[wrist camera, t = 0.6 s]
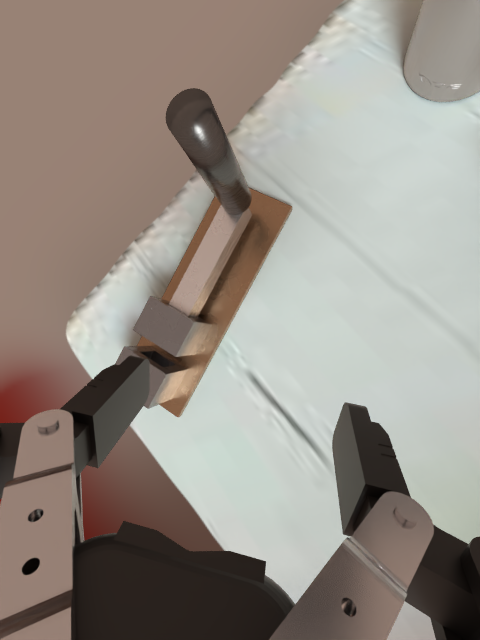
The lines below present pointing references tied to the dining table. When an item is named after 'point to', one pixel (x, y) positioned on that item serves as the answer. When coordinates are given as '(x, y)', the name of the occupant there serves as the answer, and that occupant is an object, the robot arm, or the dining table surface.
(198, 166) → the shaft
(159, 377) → the shaft bracket
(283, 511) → the dining table surface
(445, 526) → the dining table surface
